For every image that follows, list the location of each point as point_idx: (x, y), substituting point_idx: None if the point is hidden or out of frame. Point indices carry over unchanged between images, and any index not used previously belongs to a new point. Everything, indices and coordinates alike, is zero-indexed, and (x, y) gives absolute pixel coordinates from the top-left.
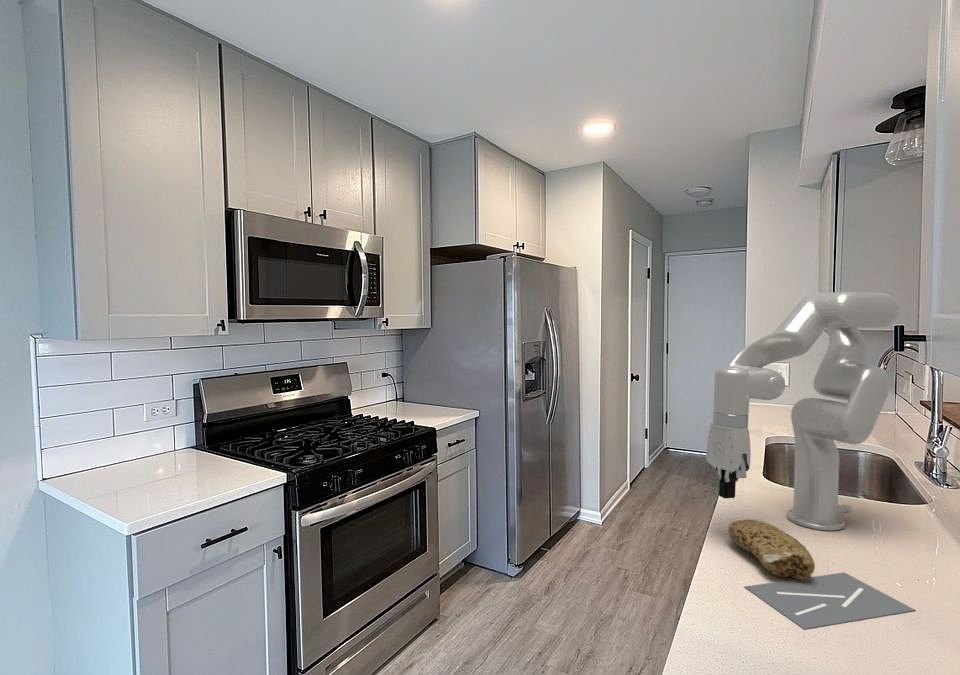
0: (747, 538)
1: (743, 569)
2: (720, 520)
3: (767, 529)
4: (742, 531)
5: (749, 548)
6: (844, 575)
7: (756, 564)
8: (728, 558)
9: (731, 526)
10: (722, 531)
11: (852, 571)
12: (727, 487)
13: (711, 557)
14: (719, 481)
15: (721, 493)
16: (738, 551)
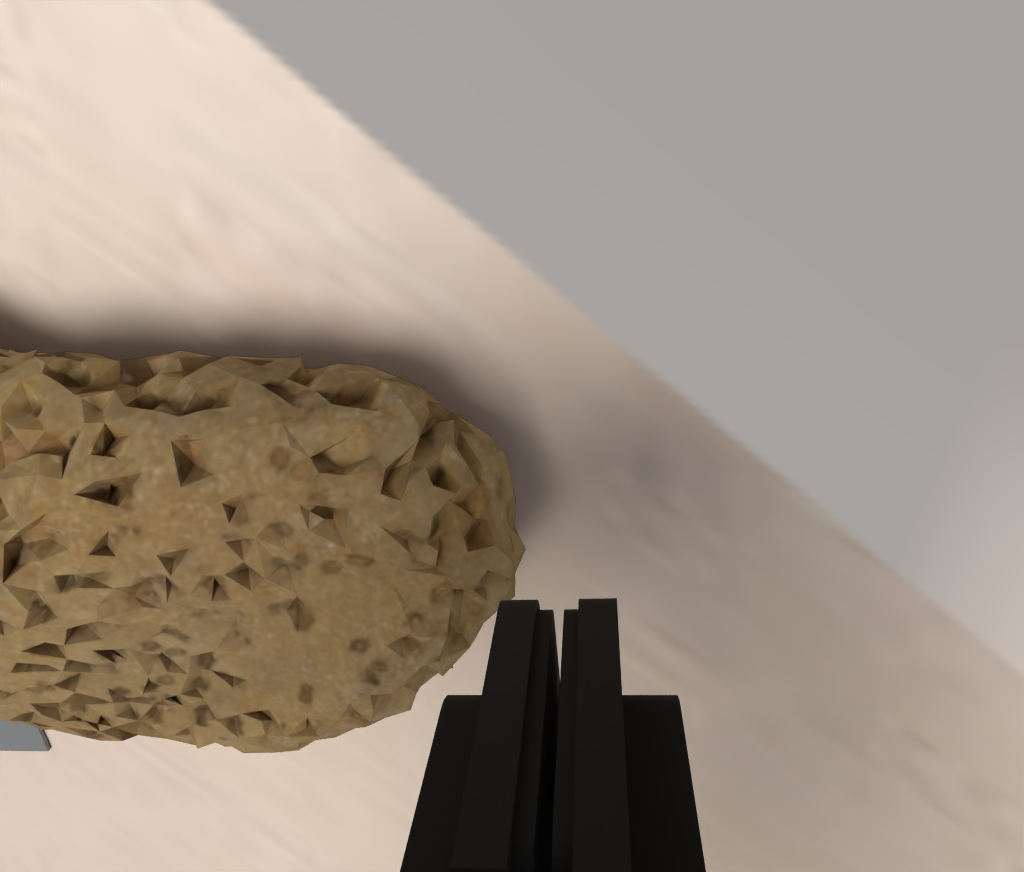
0: (55, 387)
1: (21, 202)
2: (915, 598)
3: (156, 646)
4: (133, 413)
5: (62, 353)
6: (10, 727)
7: (112, 356)
8: (199, 199)
9: (342, 418)
10: (700, 475)
11: (77, 792)
12: (460, 800)
13: (213, 48)
14: (626, 828)
15: (565, 641)
16: (322, 363)
